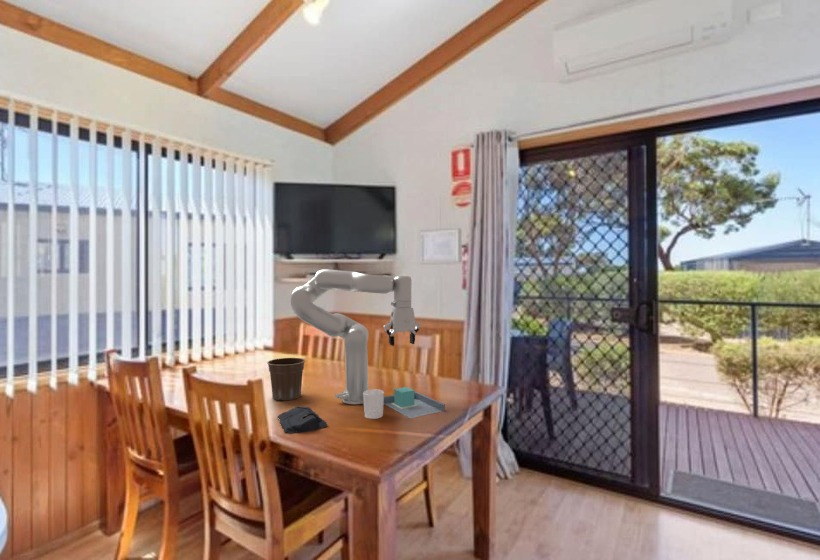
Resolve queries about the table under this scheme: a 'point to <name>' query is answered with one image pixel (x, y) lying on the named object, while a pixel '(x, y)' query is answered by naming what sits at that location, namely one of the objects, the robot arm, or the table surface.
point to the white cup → (373, 403)
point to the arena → (416, 406)
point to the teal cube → (404, 397)
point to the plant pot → (286, 377)
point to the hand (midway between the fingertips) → (402, 344)
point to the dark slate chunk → (300, 420)
